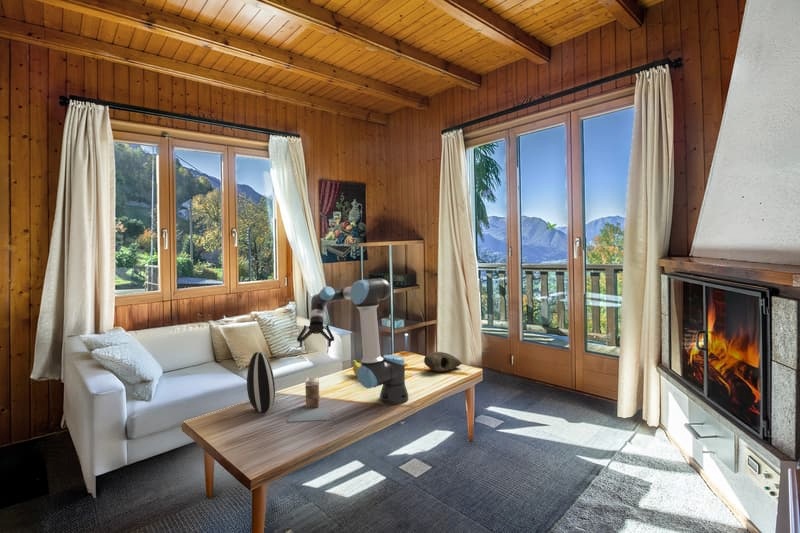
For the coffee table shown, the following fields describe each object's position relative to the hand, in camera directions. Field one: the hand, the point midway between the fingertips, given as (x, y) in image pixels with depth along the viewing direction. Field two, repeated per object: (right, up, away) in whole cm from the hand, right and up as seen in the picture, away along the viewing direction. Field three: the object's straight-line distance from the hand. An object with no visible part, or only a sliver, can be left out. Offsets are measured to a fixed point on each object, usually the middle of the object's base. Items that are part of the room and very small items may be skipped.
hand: (314, 352), depth 225 cm
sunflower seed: (-23, -26, -18) cm, 39 cm away
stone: (+73, -21, +43) cm, 87 cm away
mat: (+3, -26, -24) cm, 35 cm away
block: (+2, -25, -14) cm, 29 cm away
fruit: (+25, -22, +28) cm, 44 cm away
